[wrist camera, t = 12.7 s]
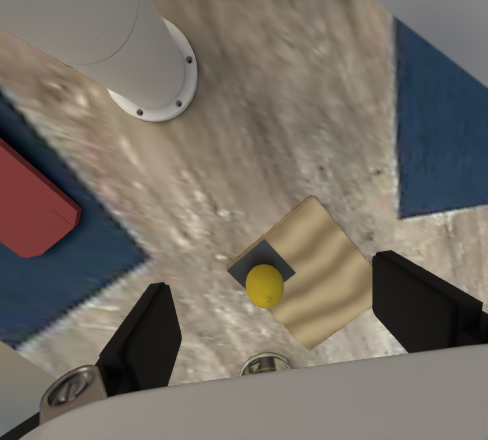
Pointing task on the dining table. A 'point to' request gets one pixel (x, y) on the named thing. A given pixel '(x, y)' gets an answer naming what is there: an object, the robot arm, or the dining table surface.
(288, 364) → the coffee can
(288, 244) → the board
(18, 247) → the red sloped ramp
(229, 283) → the dining table surface
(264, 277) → the lemon
